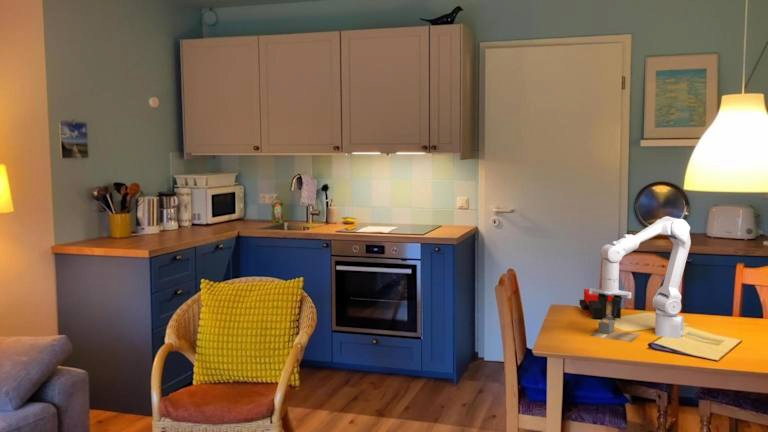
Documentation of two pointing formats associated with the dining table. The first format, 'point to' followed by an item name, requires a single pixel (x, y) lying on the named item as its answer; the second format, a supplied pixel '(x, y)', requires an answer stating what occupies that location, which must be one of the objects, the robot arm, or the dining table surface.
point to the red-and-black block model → (595, 305)
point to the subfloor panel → (617, 336)
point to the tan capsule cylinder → (609, 311)
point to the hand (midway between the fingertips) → (609, 315)
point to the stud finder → (606, 326)
